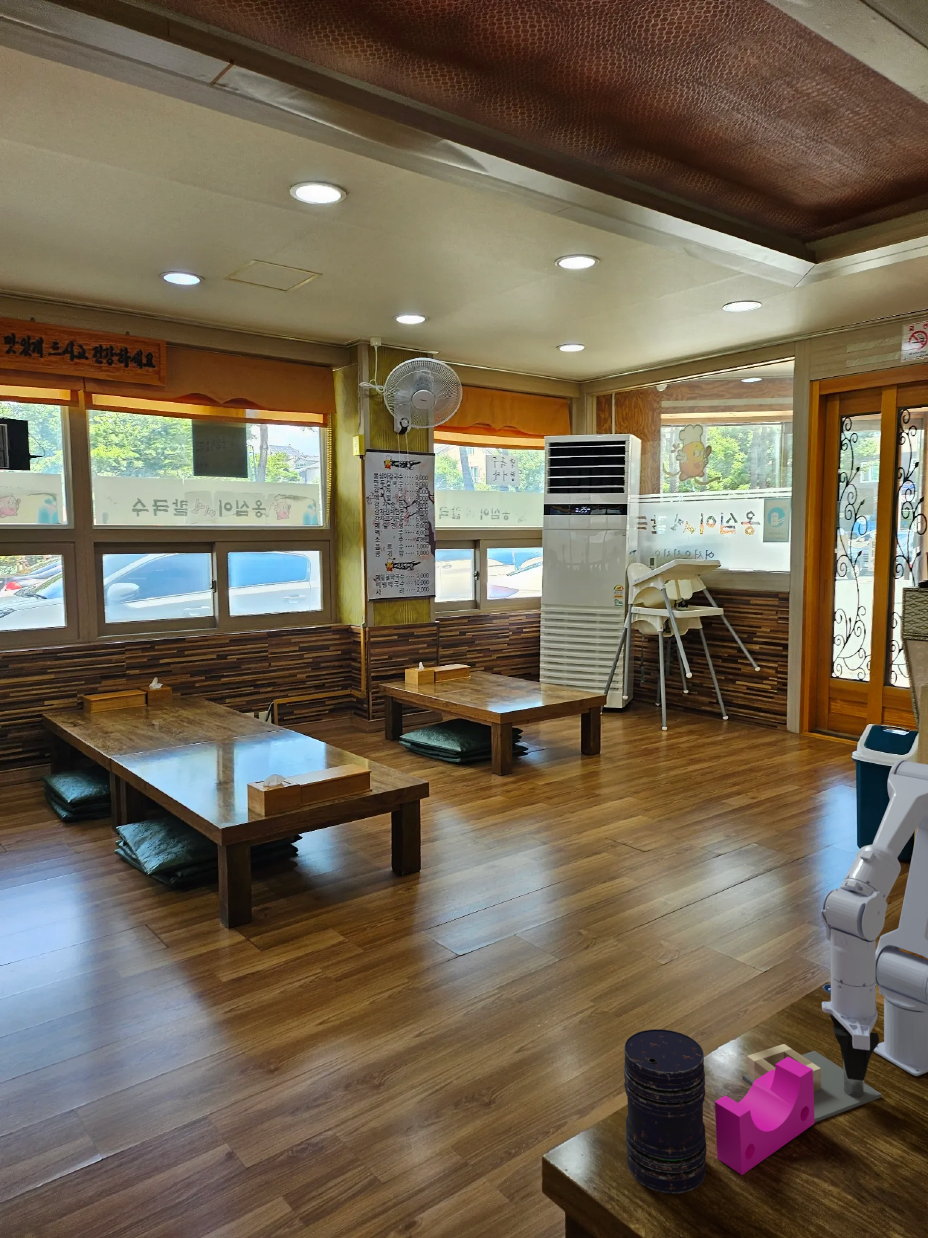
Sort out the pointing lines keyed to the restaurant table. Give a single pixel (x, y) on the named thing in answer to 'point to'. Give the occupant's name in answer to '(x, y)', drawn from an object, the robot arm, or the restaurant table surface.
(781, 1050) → the birch square frame
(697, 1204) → the restaurant table surface
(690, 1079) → the dark metal barrel
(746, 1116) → the toy block
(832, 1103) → the charcoal mat
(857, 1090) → the metal pin
